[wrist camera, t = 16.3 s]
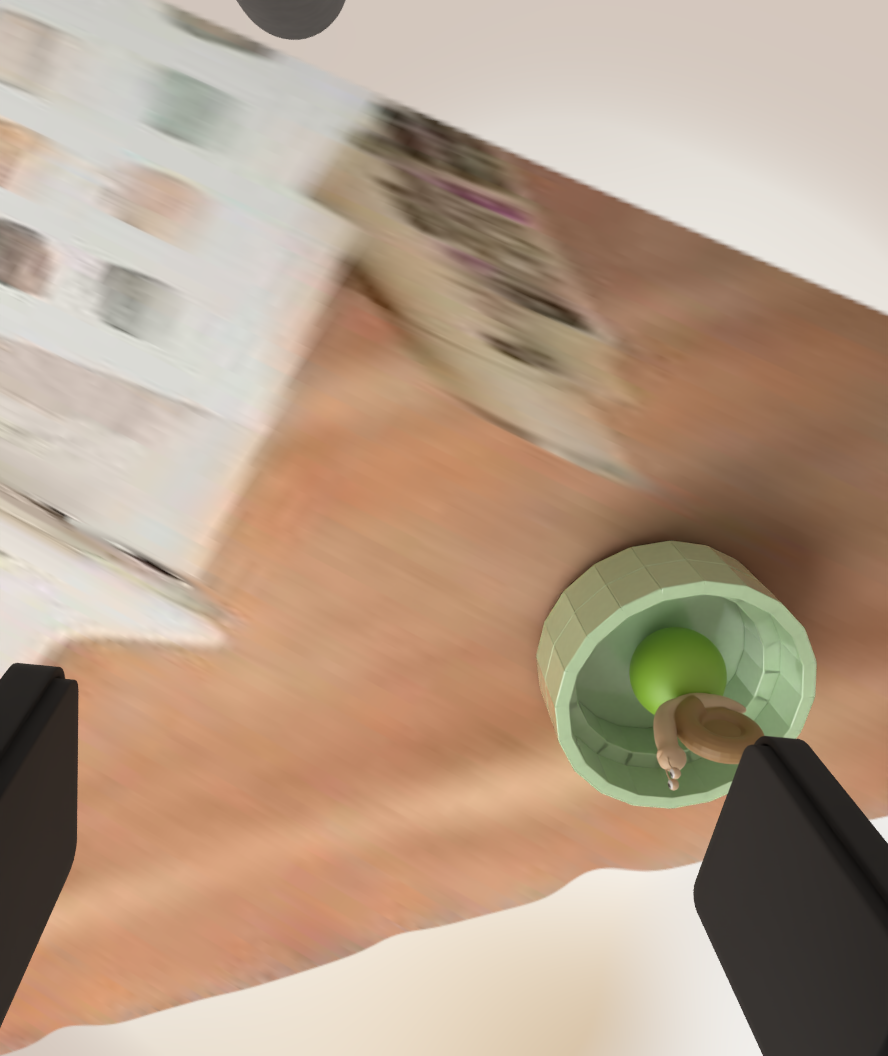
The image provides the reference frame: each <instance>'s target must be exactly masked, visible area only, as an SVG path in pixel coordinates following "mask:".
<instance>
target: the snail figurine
mask: <svg viewBox="0 0 888 1056" xmlns="http://www.w3.org/2000/svg"><path fill="white" fill-rule="evenodd" d="M629 676H630V683H631V686H632V689H633V692H634V694H635V696H636V697H637V699H638V701H639V702H640V703H641V704H642V705H643V707H644V708H646V709H647V710H648V711H649V712H650V713H652V714H653V715H655V716H654V722H653V729H654V737H655V743H656V746H657V749H658V751H657V760H658V762H659V764H660V766H661V767H662V768H663V769H665V771H666V774H667V776H668V779H669V781H668V787H669V788H670V789H671V790H677V789H678V787H679V782H678V781H677V780H676V779H678V778H679V777H680V776H681V771H680V770H681V769H682V768H683V767H684V766H685V764H686V760H687V759H686V754H685V752H684V751H683V749H682V748H681V747H680V746H679V745H678V740H677V737H678V738H679V740H680V741H681V742H682V743H683V744H684V745H685V746H686V747H687V748H688V749H689V750H691V751H692V752H693V753H695V754H697V755H699V756H701V757H703V758H705V759H708V760H711V761H714V762H718V763H724V764H739V762H740V759H741V756H742V753H743V751H744V750H745V748H746V747H747V746H748V745H754V744H755V742H756V740H758V739H759V738H760V737H762V736H764V733H763V731H762V729H761V728H760V726H759V725H758V724H757V723H756V722H755V721H754V720H752V719H751V718H749V717H748V716H746V715H744V714H743V713H745V712H746V708H745V707H744V706H743V705H742V704H740V703H738V702H736V701H734V700H732V699H730V698H728V697H725V696H723V694H724V691H725V688H726V682H727V672H726V666H725V663H724V660H723V657H722V655H721V653H720V652H719V650H718V649H717V647H716V646H715V645H714V644H713V643H712V642H711V641H710V640H709V639H708V638H707V637H705V636H704V635H702V634H700V633H698V632H696V631H694V630H691V629H687V628H682V627H670V628H664V629H661V630H658V631H656V632H653V633H652V634H650V635H649V636H647V637H646V638H645V639H644V640H643V641H642V642H641V643H640V644H639V645H638V646H637V648H636V650H635V651H634V653H633V656H632V658H631V662H630V668H629ZM667 771H670V776H671V777H672V778H673V779H670V777H669V775H668V772H667Z"/></svg>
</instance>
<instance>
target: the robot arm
mask: <svg viewBox="0 0 888 1056" xmlns="http://www.w3.org/2000/svg"><path fill="white" fill-rule="evenodd" d="M77 777H78V683H77V681H76V680H70V679H65V675H64V671H63V669H62V668H61V667H53V666H43V665H33V664H23V663H15V664H13V665H12V666H11V667H9V669H8V670H7V671H6V673H5V674H4V675H3V676H2V678H1V679H0V1027H1V1025H2V1022H3V1020H4V1018H5V1016H6V1013H7V1011H8V1009H9V1007H10V1005H11V1002H12V1000H13V998H14V996H15V993H16V991H17V989H18V987H19V984H20V982H21V980H22V978H23V975H24V973H25V971H26V969H27V966H28V964H29V962H30V960H31V957H32V955H33V953H34V951H35V948H36V946H37V944H38V942H39V939H40V937H41V935H42V933H43V930H44V928H45V926H46V924H47V921H48V919H49V917H50V915H51V912H52V910H53V908H54V906H55V903H56V901H57V899H58V897H59V894H60V892H61V890H62V888H63V886H64V883H65V881H66V879H67V877H68V874H69V872H70V869H71V867H72V863H73V860H74V856H75V851H76V844H77ZM694 903H695V907H696V910H697V913H698V915H699V917H700V919H701V922H702V924H703V926H704V928H705V930H706V933H707V935H708V937H709V939H710V941H711V943H712V946H713V948H714V950H715V952H716V954H717V956H718V959H719V961H720V963H721V965H722V967H723V969H724V971H725V974H726V976H727V978H728V980H729V983H730V985H731V987H732V989H733V991H734V993H735V996H736V997H737V1000H738V1002H739V1004H740V1006H741V1009H742V1011H743V1013H744V1015H745V1017H746V1019H747V1022H748V1024H749V1026H750V1028H751V1030H752V1032H753V1035H754V1037H755V1039H756V1041H757V1043H758V1046H759V1048H760V1050H761V1052H762V1054H763V1056H888V843H887V842H886V841H885V840H884V838H883V837H882V836H881V835H880V833H879V832H878V831H877V830H876V828H875V827H874V826H873V825H872V824H871V822H870V821H869V820H868V818H867V817H866V816H865V815H864V814H863V812H862V811H861V810H860V809H859V807H858V806H857V805H856V804H855V802H854V801H853V800H852V799H851V797H850V796H849V795H848V794H847V792H846V791H845V790H844V789H843V787H842V786H841V785H840V784H839V782H838V781H837V780H836V779H835V777H834V776H833V775H832V774H831V773H830V771H829V770H828V769H827V768H826V766H825V765H824V764H823V763H822V761H821V760H820V759H819V758H818V756H817V755H816V754H815V753H814V751H813V750H812V749H811V748H810V746H809V745H808V744H807V743H806V742H804V741H803V740H800V739H793V738H783V737H773V736H762V737H760V738H759V739H758V740H756V742H755V744H754V745H748V746H747V747H746V748H745V750H744V751H743V753H742V756H741V759H740V762H739V764H738V767H737V770H736V772H735V775H734V778H733V781H732V783H731V786H730V789H729V791H728V794H727V797H726V800H725V802H724V805H723V808H722V810H721V813H720V816H719V819H718V821H717V824H716V827H715V829H714V832H713V835H712V838H711V840H710V843H709V846H708V848H707V851H706V854H705V857H704V859H703V862H702V865H701V867H700V870H699V873H698V876H697V878H696V882H695V885H694Z"/></svg>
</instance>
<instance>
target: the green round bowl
mask: <svg viewBox="0 0 888 1056" xmlns="http://www.w3.org/2000/svg"><path fill="white" fill-rule="evenodd" d="M670 627H682V628H687V629H691V630H694V631H696V632H698V633H700V634H702V635H704V636H705V637H707V638H708V639H709V640H710V641H711V642H712V643H713V644H714V645H715V646H716V647H717V649H718V650H719V652H720V653H721V655H722V657H723V660H724V663H725V666H726V672H727V682H726V688H725V691H724V694H723V696H725V697H728V698H730V699H732V700H734V701H736V702H738V703H740V704H742V705H743V706H744V707H745V708H746V712H745V713H743V714H744V715H746V716H748V717H749V718H751V719H752V720H754V721H755V722H756V723H757V724H758V725H759V726H760V728H761V729H762V731H763V733H764V736H773V737H783V738H793V739H796V738H797V737H798V735H799V734H800V733H801V730H802V729H803V726H804V724H805V721H806V719H807V716H808V714H809V711H810V709H811V706H812V704H813V701H814V699H815V691H816V666H817V662H816V658H815V655H814V652H813V650H812V647H811V644H810V641H809V638H808V635H807V633H806V630H805V628H804V627H803V626H802V625H801V623H800V622H799V621H798V620H797V619H796V618H795V617H794V616H793V615H792V614H791V613H790V611H789V610H788V609H787V608H786V607H785V606H784V605H783V604H782V603H781V602H780V601H779V600H778V599H777V598H776V597H775V596H774V595H773V594H772V593H771V592H770V591H769V590H768V589H767V588H766V587H765V586H764V585H763V584H762V583H761V582H760V581H759V580H758V579H757V578H756V577H755V576H754V575H753V574H752V573H751V572H750V571H749V570H747V569H746V568H745V567H744V566H743V565H742V564H741V563H740V562H739V561H738V560H736V559H734V558H732V557H730V556H728V555H726V554H724V553H722V552H720V551H718V550H715V549H713V548H711V547H709V546H707V545H701V544H693V543H686V542H678V541H664V542H658V543H652V544H647V545H641V546H635V547H629V548H627V549H625V550H623V551H621V552H619V553H617V554H615V555H612V556H610V557H608V558H606V559H604V560H602V561H600V562H598V563H596V564H594V565H593V566H592V567H590V568H589V569H588V570H587V571H586V572H585V573H584V574H582V575H581V576H580V577H579V578H578V579H577V580H576V581H574V582H573V583H572V584H571V585H570V586H569V587H568V588H566V589H565V591H563V593H562V595H561V596H560V598H559V599H558V601H557V603H556V604H555V606H554V607H553V609H552V611H551V612H550V614H549V615H548V617H547V618H546V620H545V623H544V626H543V630H542V634H541V638H540V642H539V646H538V650H537V654H536V659H537V668H538V677H539V685H540V690H541V692H542V695H543V698H544V701H545V704H546V707H547V710H548V713H549V715H550V718H551V721H552V724H553V727H554V730H555V732H556V735H557V738H558V741H559V743H560V745H561V747H562V749H563V751H564V752H565V754H566V756H567V758H568V760H569V762H570V764H571V765H572V767H573V769H574V770H575V772H577V773H578V774H579V775H580V776H581V777H582V778H584V779H585V780H586V781H587V782H588V783H590V784H591V785H592V786H593V787H594V788H595V789H597V790H598V791H599V792H601V793H602V794H605V795H607V796H610V797H613V798H615V799H618V800H620V801H623V802H625V803H628V804H631V805H634V806H645V807H657V808H669V809H670V808H678V807H684V806H689V805H695V804H701V803H706V802H709V801H710V802H711V801H713V800H715V799H717V798H720V797H722V796H724V795H727V794H728V791H729V789H730V786H731V783H732V781H733V778H734V775H735V772H736V770H737V767H738V764H724V763H718V762H714V761H711V760H708V759H705V758H703V757H701V756H699V755H697V754H695V753H693V752H692V751H691V750H689V749H688V748H687V747H686V746H685V745H684V744H683V743H682V742H681V741H680V740H679V738H678V737H677V740H678V745H679V746H680V747H681V748H682V749H683V751H684V752H685V754H686V759H687V760H686V764H685V766H684V767H683V768H682V769H681V770H680V771H681V776H680V777H679V778H678V779H676V780H677V781H678V782H679V787H678V789H677V790H671V789H670V788H669V787H668V781H669V779H668V776H667V774H666V771H665V769H663V768H662V767H661V766H660V764H659V762H658V760H657V751H658V749H657V746H656V743H655V737H654V729H653V722H654V716H655V715H653V714H652V713H650V712H649V711H648V710H647V709H646V708H644V707H643V705H642V704H641V703H640V702H639V701H638V699H637V697H636V696H635V694H634V692H633V689H632V686H631V683H630V676H629V668H630V662H631V658H632V656H633V653H634V651H635V650H636V648H637V646H638V645H639V644H640V643H641V642H642V641H643V640H644V639H645V638H646V637H647V636H649V635H650V634H652V633H653V632H656V631H658V630H661V629H664V628H670ZM667 772H668V775H669V777H670V779H673V778H672V777H671V776H670V771H667Z"/></svg>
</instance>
